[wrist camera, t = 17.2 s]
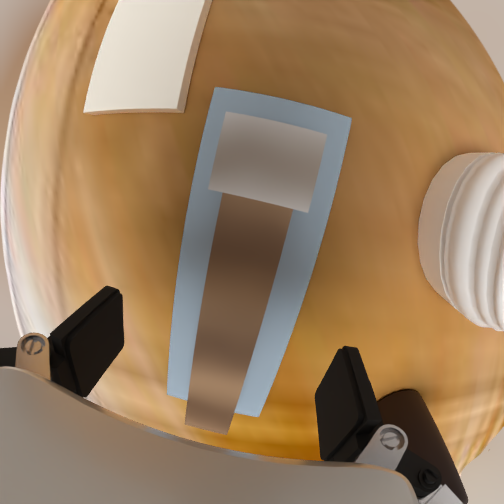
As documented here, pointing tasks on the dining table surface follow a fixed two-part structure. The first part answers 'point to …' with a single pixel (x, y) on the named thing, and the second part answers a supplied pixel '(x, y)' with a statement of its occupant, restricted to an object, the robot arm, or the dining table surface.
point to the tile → (147, 57)
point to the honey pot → (466, 236)
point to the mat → (293, 254)
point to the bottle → (422, 435)
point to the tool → (246, 252)
